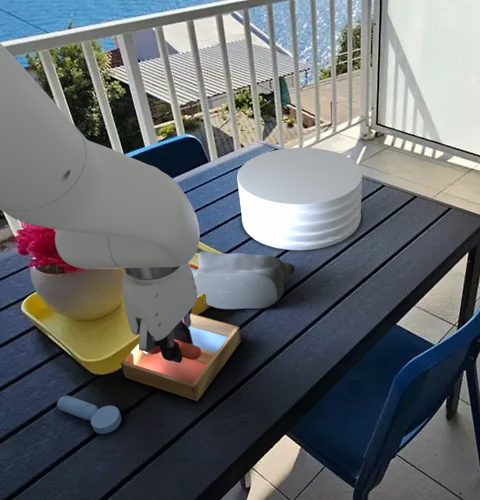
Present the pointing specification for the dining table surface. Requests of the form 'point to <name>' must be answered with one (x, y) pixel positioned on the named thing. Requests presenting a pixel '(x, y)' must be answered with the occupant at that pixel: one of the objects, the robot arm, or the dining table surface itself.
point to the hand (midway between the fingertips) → (178, 351)
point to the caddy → (187, 360)
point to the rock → (240, 279)
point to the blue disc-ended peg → (92, 413)
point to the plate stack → (300, 198)
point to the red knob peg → (182, 350)
